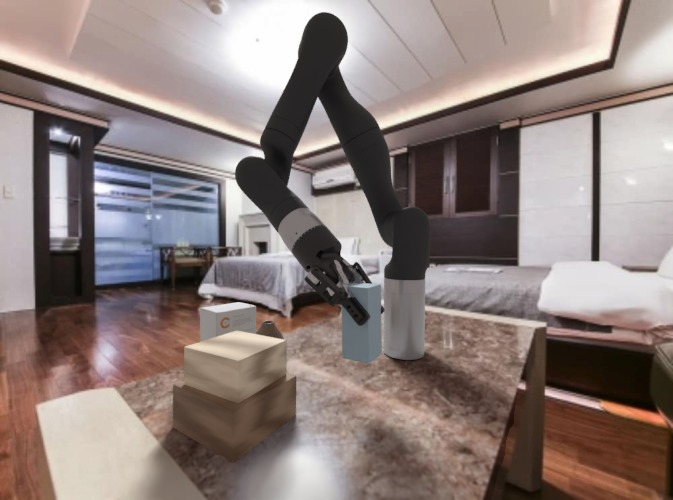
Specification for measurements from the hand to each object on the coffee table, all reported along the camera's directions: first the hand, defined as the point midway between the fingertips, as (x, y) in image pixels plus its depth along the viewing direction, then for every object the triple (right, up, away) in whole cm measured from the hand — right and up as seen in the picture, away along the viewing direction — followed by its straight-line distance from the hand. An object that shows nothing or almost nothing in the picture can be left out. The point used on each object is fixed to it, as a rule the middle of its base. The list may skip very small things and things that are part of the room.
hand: (373, 317), depth 44 cm
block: (-2, -6, +1) cm, 6 cm away
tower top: (-19, -8, -4) cm, 21 cm away
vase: (-20, -13, +16) cm, 29 cm away
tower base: (-19, -14, -4) cm, 24 cm away
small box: (-26, -13, +10) cm, 31 cm away
